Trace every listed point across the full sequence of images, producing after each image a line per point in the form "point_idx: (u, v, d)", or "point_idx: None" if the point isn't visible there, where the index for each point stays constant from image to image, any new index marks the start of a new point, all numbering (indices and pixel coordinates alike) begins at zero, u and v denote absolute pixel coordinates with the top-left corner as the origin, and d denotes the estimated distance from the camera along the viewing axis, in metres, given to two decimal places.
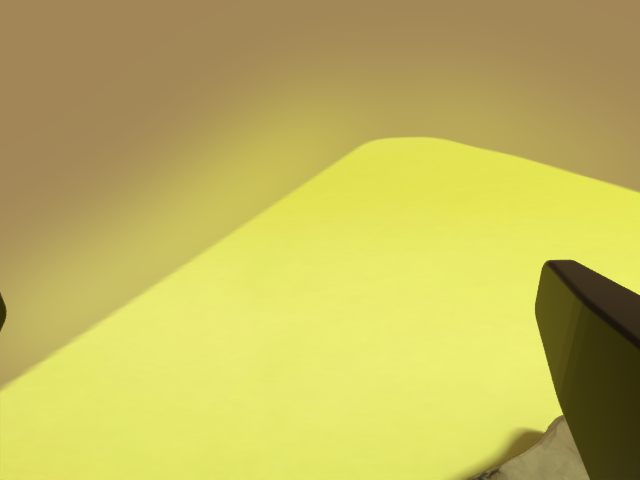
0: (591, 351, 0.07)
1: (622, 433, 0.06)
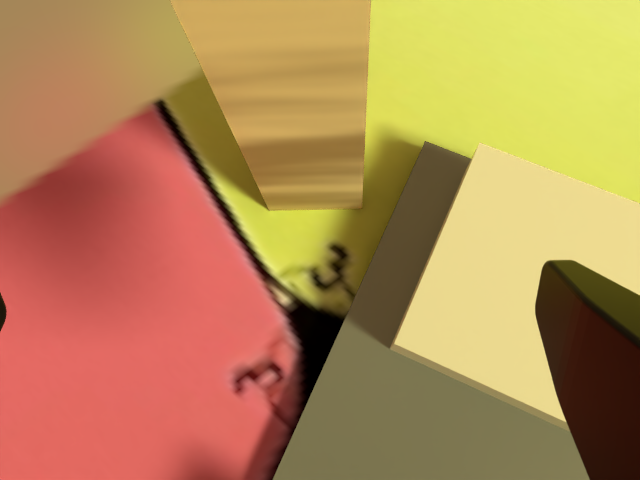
0: (591, 351, 0.07)
1: (622, 433, 0.06)
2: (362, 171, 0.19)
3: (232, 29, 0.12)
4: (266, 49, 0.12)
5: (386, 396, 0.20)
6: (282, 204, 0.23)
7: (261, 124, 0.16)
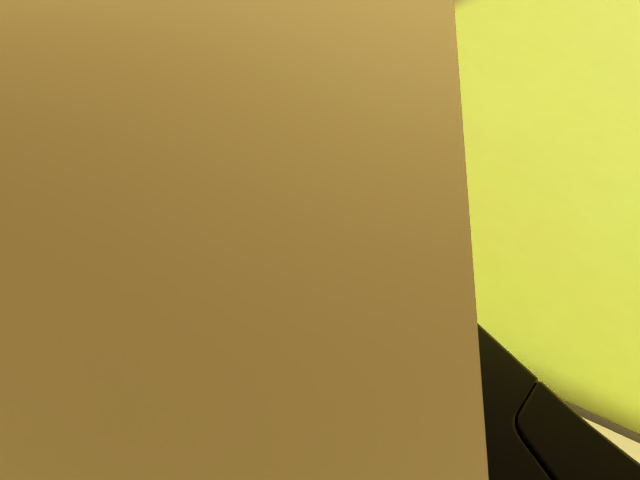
0: None
1: None
2: None
3: None
4: None
5: None
6: None
7: None
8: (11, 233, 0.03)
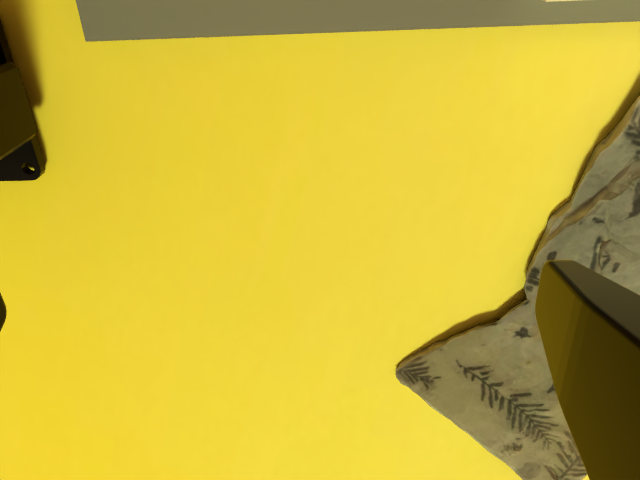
0: (591, 351, 0.07)
1: (622, 433, 0.06)
2: None
3: None
4: None
5: None
6: None
7: None
8: None
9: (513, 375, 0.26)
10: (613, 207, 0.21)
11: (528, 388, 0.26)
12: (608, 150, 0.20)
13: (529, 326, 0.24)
